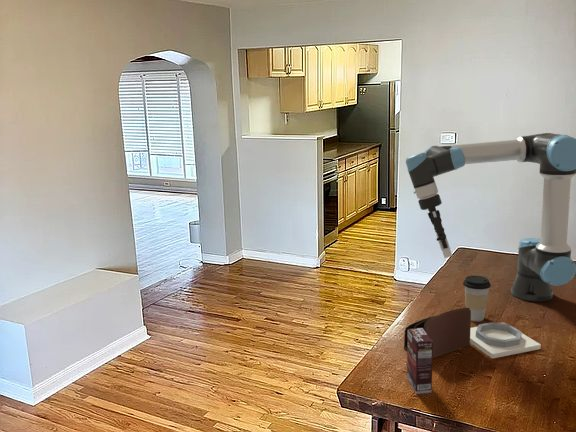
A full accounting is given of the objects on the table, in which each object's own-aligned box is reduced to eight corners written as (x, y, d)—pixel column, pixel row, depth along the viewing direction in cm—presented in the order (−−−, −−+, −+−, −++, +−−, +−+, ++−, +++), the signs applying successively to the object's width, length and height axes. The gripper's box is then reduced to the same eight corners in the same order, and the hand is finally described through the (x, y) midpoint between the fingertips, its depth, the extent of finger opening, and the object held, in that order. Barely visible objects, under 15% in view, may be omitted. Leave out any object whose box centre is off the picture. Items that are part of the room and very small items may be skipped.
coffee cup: (490, 324, 187) (493, 284, 184) (463, 323, 189) (464, 283, 185) (486, 313, 196) (488, 275, 193) (460, 312, 198) (461, 274, 194)
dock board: (503, 326, 185) (503, 316, 185) (540, 348, 168) (541, 338, 168) (458, 334, 181) (458, 324, 180) (492, 358, 164) (492, 348, 163)
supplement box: (405, 378, 154) (406, 328, 151) (422, 377, 155) (423, 327, 151) (415, 394, 146) (416, 342, 142) (432, 393, 146) (433, 340, 143)
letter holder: (470, 345, 173) (472, 305, 169) (425, 362, 163) (426, 320, 160) (447, 334, 181) (449, 295, 178) (403, 349, 172) (404, 309, 169)
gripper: (416, 196, 200) (433, 249, 201) (419, 203, 175) (438, 263, 177) (436, 190, 198) (453, 243, 199) (441, 196, 174) (461, 257, 175)
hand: (446, 253), depth 188 cm, fingers open, 13 cm apart
